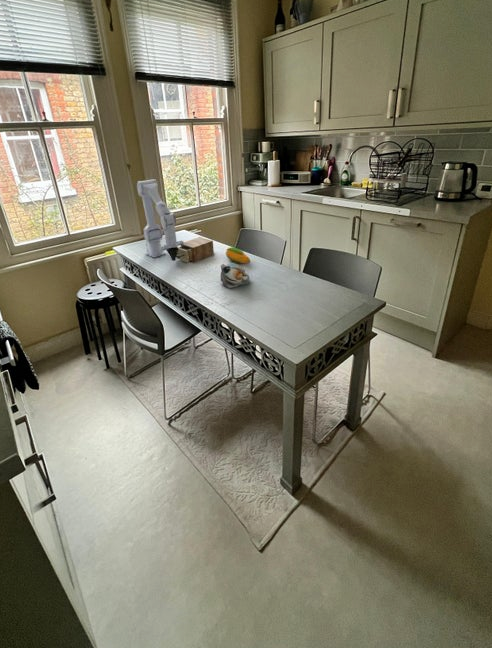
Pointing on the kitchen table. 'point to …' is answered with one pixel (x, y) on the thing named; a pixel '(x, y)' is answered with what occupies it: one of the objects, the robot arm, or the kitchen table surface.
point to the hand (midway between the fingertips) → (173, 260)
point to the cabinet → (200, 248)
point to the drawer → (184, 254)
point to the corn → (237, 255)
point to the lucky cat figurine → (233, 275)
